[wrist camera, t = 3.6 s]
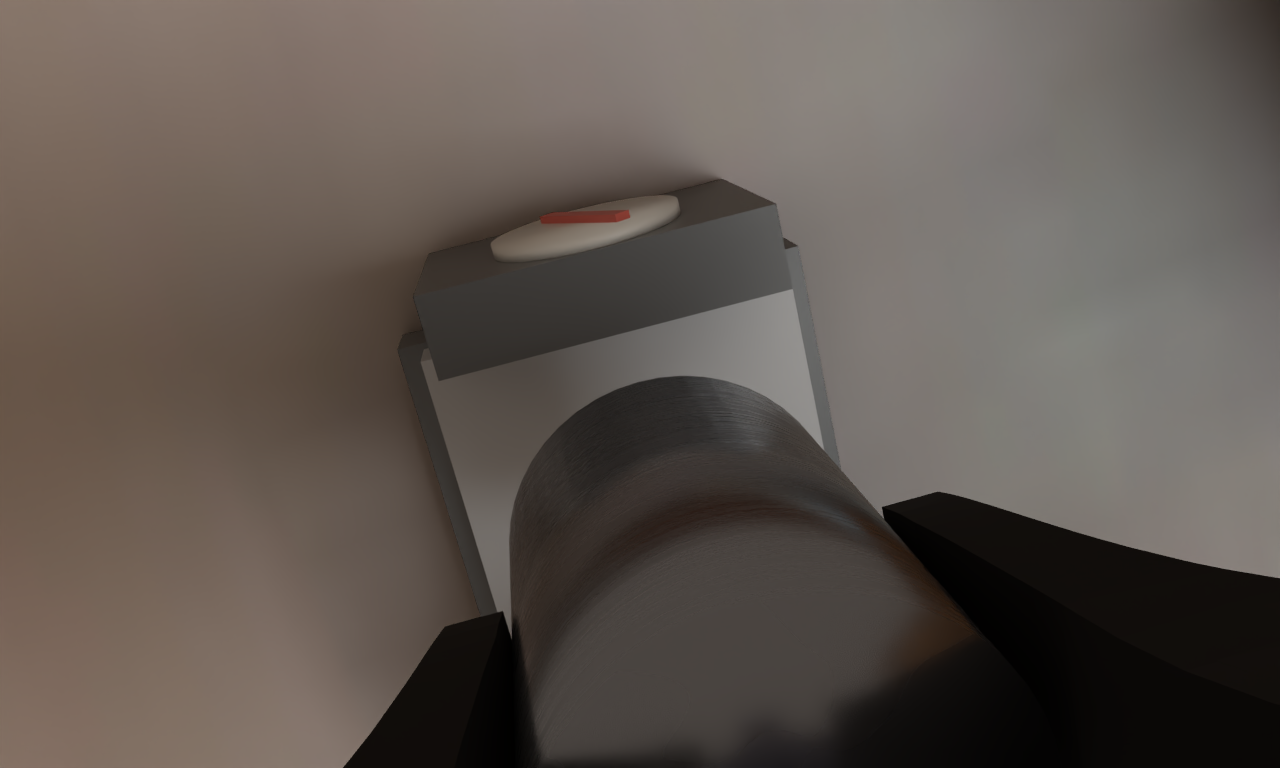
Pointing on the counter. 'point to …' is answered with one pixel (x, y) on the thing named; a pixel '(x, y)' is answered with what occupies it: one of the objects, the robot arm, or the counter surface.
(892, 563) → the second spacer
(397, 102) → the counter surface
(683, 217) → the dial scale
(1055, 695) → the robot arm
